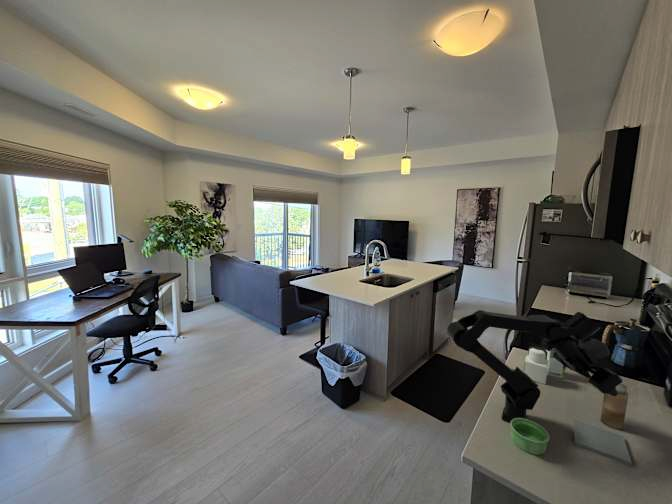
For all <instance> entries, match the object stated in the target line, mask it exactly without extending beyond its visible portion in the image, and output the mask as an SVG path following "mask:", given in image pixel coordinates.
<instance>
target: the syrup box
mask: <svg viewBox="0 0 672 504" xmlns="http://www.w3.org/2000/svg"><path fill="white" fill-rule="evenodd" d="M545 350H546V349H545ZM546 351H547V350H546ZM554 352H555V350H554V349H552V350H551V351H547V360H548V369H547V376H550V377H556V378H560V379H564V380H565V376H566V370H567V369H566V368H567V367H565V366H564V365H562V364H561V363H560V362H558V361H557V360H556V359H555V358H554V357H553V354H554Z"/></svg>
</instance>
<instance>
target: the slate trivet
mask: <svg viewBox="0 0 672 504" xmlns="http://www.w3.org/2000/svg"><path fill="white" fill-rule="evenodd" d="M572 427H573V437H574V445H575V446H577V447H580V448H582V449H585V450H588V451H589V452H590V451H591V452H594V453H596V454H599V455H601V456H604V457H606V458H609V459H611V460H614V461H616V462H619V463H622V464H624V465H627V466H630V467H631V466H632V463H633V462H632V459H631V456H630V453H629V450H628V447H627V443H626V441H625V438H624V435H621V434H617V433H615V432H612V431H609V430H607V429H604V428H600V427H598V426H594V425H592V424H589V423H585V422H583V421H580V420H577V419H574V418H573V419H572Z"/></svg>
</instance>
